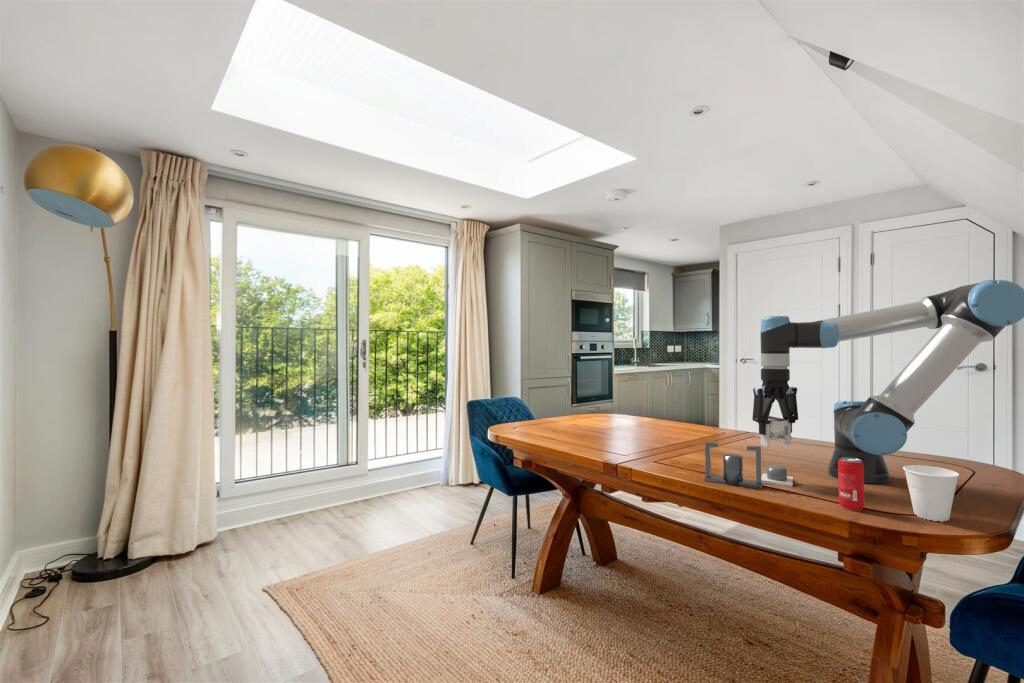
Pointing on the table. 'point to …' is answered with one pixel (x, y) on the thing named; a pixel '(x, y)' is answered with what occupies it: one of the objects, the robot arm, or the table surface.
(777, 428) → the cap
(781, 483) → the stand
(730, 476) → the gray u-shaped frame
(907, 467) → the cup
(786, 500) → the table surface
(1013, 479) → the table surface
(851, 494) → the beverage can
